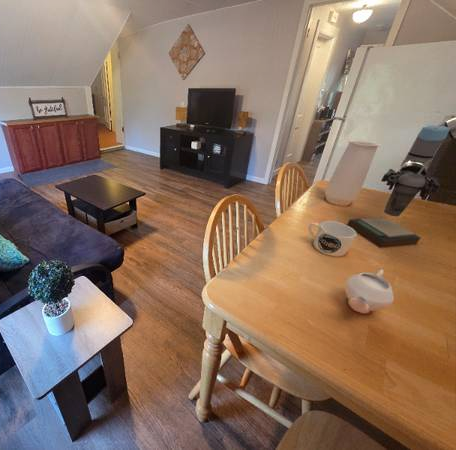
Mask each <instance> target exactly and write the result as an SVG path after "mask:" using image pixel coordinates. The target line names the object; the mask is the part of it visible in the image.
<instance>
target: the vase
mask: <svg viewBox="0 0 456 450" xmlns="http://www.w3.org/2000/svg"><path fill="white" fill-rule="evenodd" d="M347 142H348V144H347V146H346V148H345V149H344V152H343V153H342V155H341V157H340V159H339V161H338V163H337V165H336V167H335V169H334V171H333V172H332V175H331V177H330V179H329V181H328V182H327V185H326V188H325V190H324V194H325V200H326V201H327V202H328V203H331V204H333V205H336V206H341V207H346V206H349V205H350V204H351V203H352V202H354V201H356V200H357V199H358V197H359V195H360V193H361V191H362V188H363V186H364V183H365V180H366V178H367V175H368V173H369V171H370V168H371V166H372V163H373V160H374V157H375V154H376V152H377V149H378V147H380V146H382V143H380V142H378V141H374V140H371V139H370V140H369V139H364V138H363V139H362V138H350V139H347Z"/></svg>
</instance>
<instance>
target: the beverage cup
mask: <svg viewBox="0 0 456 450" xmlns="http://www.w3.org/2000/svg"><path fill="white" fill-rule="evenodd" d="M429 162H430V160H428V161H427V162H426V163H425V165H424V166H423V167H422V168H421V170H420V171H419V172H418V173H417V172H408V173H405V174H403V175H401V176H400V177H399V178H398V179H397V180H396V182H395V184H394V186H393V188H392V190H391V191H392V192H391V193H390V196H389V198H388V201H387V202H386V205H385V207H384V210H383V213H384V214H386V215H388V216H391V217H400V216H401V214H403V212H405V210H406V208H407V207H409V205H410V204H411V202H412V201H413V200H414V199H415V197H416V196H417V195H418V194H420V191H421V189H422V188H424V185H425V178H424V176H423V175H422V174H420V173H421V172H422V170H423V169H424V168H425V167H426V165H427V164H428V163H429ZM430 163H431V162H430ZM430 163H429V164H430Z"/></svg>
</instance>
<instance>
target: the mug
mask: <svg viewBox="0 0 456 450" xmlns="http://www.w3.org/2000/svg"><path fill="white" fill-rule="evenodd" d="M313 226H316V227H317V228H318V229H317V231H316V234H314V232H313V230H312V227H313ZM308 232H309V234H310V235H311V237H312V238H313V239H314V240H313V243H312V244H313V246H314V248H315V249H316V250H317V251H319V252H320V253H322V254H324V255H327V256H331V257H342V256H344V255H346V253H347V252H348V250H349V249H350V247H351V245H352V244H353V242H354V240H355V239H356V237H357V234H358V233H357V232H356V231H355V230H354V229H352V228H351V227H349V226H347V224H344V223H341V222H338V221H333V220H325V221H322V222H320V223H318V222H311V223H310V224H309V225H308Z"/></svg>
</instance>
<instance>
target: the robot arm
mask: <svg viewBox="0 0 456 450" xmlns="http://www.w3.org/2000/svg"><path fill="white" fill-rule="evenodd" d="M454 139H456V117H454V118H451V119H448V120H447V121H445V122H441V123H440V124H437V125H433V124H428V125H424V126H423V127H422V128H421V130H420V131H419V132H418V134H417V136H416V138H415V139H414V141H413V143H412V146H411V147H410V148H409V149H410V150H409V151H408V152H407V155H406V156H405V157H404V159H403V160H402V162H401V164H400V168H399V170H398V171H396V170H394V169H392V168H389V169H388V171H387V172H386V173H384V174H383V176H382V178H381V180H380V181H381V182H384V183H385V182H386V184H385V185H386V186H388V190H389V191H393V189H394V185H395V183H396V180H397V179H398V178H399V177H400V176H401V175H403V174H405V173H408V172H417V173H418V172H419V171H420V170H421V168H422V167H423V166H424V165H425V163H426V162H427V161H428V160H430V162H429V163H428V164H427V165H426V167H425V168H424V169H423V170H422V172H421V173H420V174H422V175H423V176H424V178H425V185H424V188H422V189H421V190H420V192H419V197H420V198H424V196H425V195H426V194H430V193H433V194H436V193H437V192H438V191H439V189H440V187H441V184H440V183H439V181H438V180H439V178H438V177H430V178H428V176H427V171H428V170H427V169H428V166H429V165H430V163H431V162H432V160H433V159H434V157H435V155H436V153H437V152H438V150H440V147H441V146H442V144H444V143H446V142H449V141H452V140H454Z"/></svg>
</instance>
